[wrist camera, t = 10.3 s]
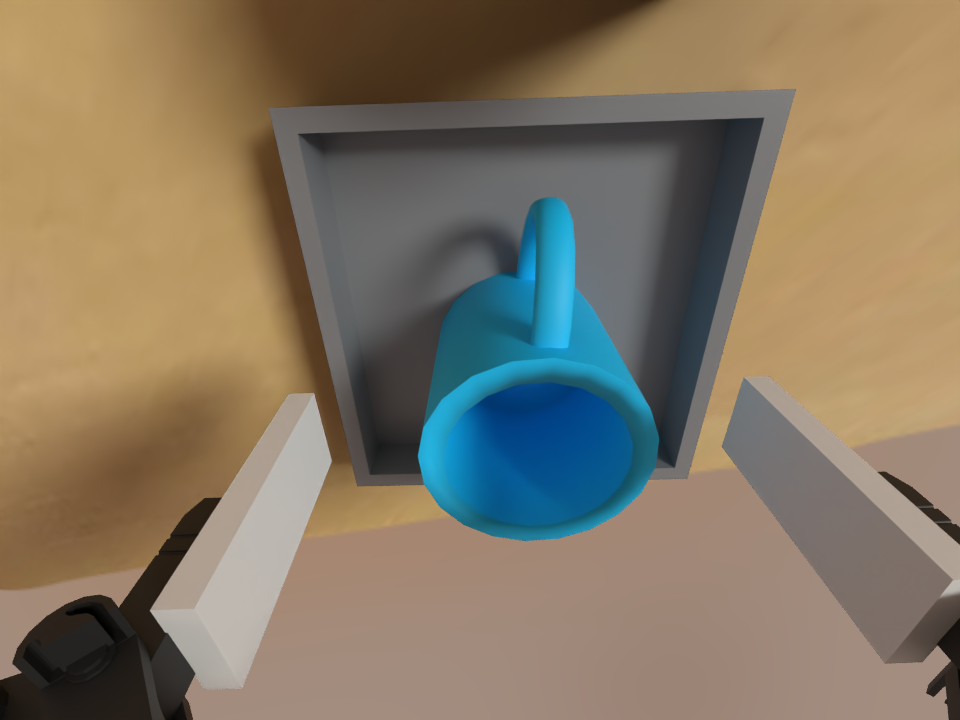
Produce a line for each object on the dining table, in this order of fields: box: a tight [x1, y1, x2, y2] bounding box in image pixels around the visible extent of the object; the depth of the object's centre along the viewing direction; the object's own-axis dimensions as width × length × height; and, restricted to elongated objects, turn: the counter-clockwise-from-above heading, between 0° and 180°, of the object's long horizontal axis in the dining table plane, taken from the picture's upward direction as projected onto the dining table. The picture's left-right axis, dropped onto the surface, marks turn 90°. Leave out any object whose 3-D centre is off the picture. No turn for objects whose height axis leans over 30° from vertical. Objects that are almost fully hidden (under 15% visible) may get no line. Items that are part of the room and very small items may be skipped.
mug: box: [418, 197, 659, 541], centre depth 17 cm, size 12×8×8 cm
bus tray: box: [269, 89, 796, 486], centre depth 20 cm, size 18×18×3 cm
